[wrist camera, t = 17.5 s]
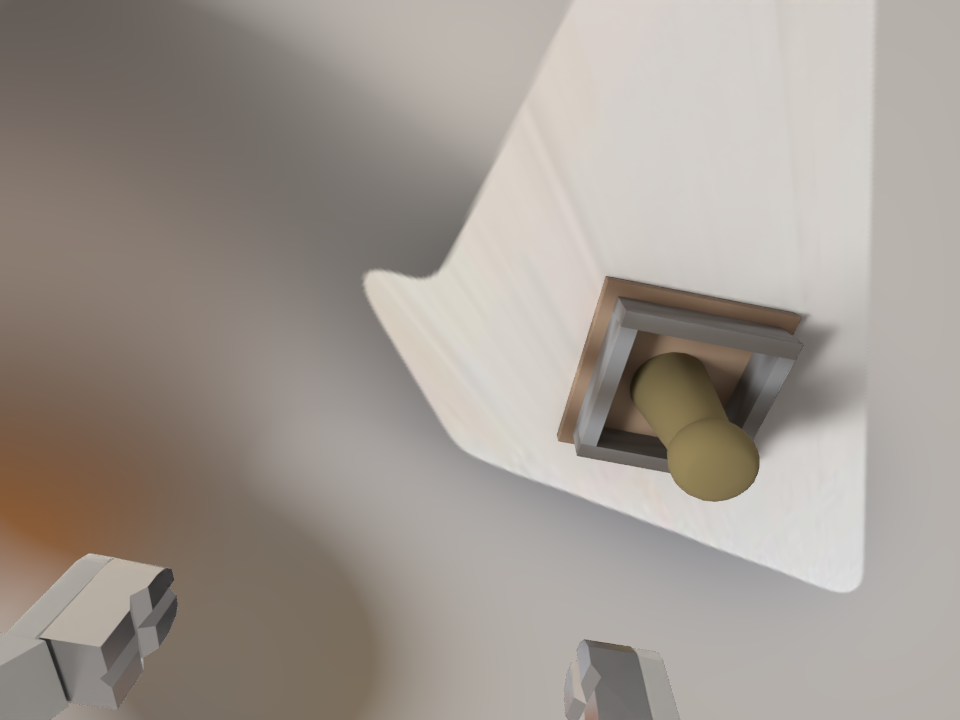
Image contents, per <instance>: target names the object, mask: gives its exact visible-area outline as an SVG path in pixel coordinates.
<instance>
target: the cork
mask: <svg viewBox="0 0 960 720" xmlns="http://www.w3.org/2000/svg"><path fill="white" fill-rule="evenodd" d="M630 392H631V398H632V400H633V402H634V404H635V406H636V407H637V409H638V410H639V411H640V413H641V414H642V416H643V417H644V418H645V420H646V421H647V422H648V424H649V425H650V427H651V428H652V429H653V431H654V432H655V433H656V435H657V436H658V437H659V439H660V440H661V442H662V443H663V444H664V446H665V447H666V448H667V460H668V469H669V471H670V473H671V475H672V477H673V479H674V481H675V483H676V484H677V485H678V486H679V487H680V488H681V489H682V490H684V491H685V492H686V493H687V494H689V495H691V496H693V497H696V498H698V499H701V500H704V501H714V502H715V501H723V500H728V499H731V498H733V497H736V496H738V495H740V494H741V493H743V492H744V491H746V490H747V489H748V488H749V487H750V486H751V485H752V484H753V482H754V481H755V478H756V476H757V474H758V471H759V454H758V451H757V448H756V446H755V444H754V442H753V440H752V439H751V438H750V436H749V435H748V434H747V433H745V432H744V431H743V430H742V429H741V428H740V427H738V426H737V425H735V424H733V423H731V422H729V420H728V418H727V416H726V413H725V411H724V409H723V407H722V404H721V402H720V400H719V398H718V395H717V393H716V391H715V388H714V386H713V384H712V382H711V379H710V377H709V375H708V373H707V371H706V368H705V366H704V365H703V364H702V363H701V362H700V361H699V360H698V359H697V358H696V357H693V356H691V355H689V354H686V353H679V352H669V353H664V354H659V355H657V356H655V357H653V358H651V359H649V360H647V361H646V362H645V363H644V364H643V365H641V366H640V367H639V368H638V370H637V371H636V373H635V374H634V376H633V378H632V382H631V386H630Z"/></svg>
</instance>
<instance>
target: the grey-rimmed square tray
mask: <svg viewBox="0 0 960 720" xmlns="http://www.w3.org/2000/svg"><path fill="white" fill-rule="evenodd" d="M800 320H801V317H799V316H798V315H797V314H795V313H792V312H787V311H782V310H776V309H771V308H766V307H761V306H756V305H751V304H746V303H741V302H735V301H730V300H725V299H720V298H715V297H710V296H705V295H699V294H694V293H689V292H684V291H679V290H674V289H669V288H664V287H658V286H653V285H648V284H643V283H638V282H633V281H628V280H622V279H617V278H612V277H607V276H606V278H605V281H604V284H603V287H602V291H601V294H600V297H599V300H598V303H597V307H596V310H595V313H594V316H593V320H592V323H591V326H590V329H589V333H588V336H587V339H586V342H585V346H584V349H583V352H582V355H581V359H580V362H579V365H578V368H577V372H576V375H575V378H574V381H573V385H572V388H571V391H570V394H569V397H568V401H567V404H566V407H565V410H564V414H563V417H562V420H561V423H560V427H559V430H558V433H557V437H558V441H560V442H566V443H571V444H575V448H576V453H577V456H580V457H586V458H591V459H597V460H602V461H608V462H613V463H619V464H624V465H630V466H635V467H640V468H646V469H651V470H657V471H662V472H668V473H670V471H669V469H668V460H667V448H666V447H665V446H664V444H663V443H662V442H661V440H660V439H659V437H658V436H657V435H656V433H655V432H654V431H653V429H652V428H651V427H650V425H649V424H648V422H647V421H646V420H645V418H644V417H643V416H642V414H641V413H640V411H639V410H638V409H637V407H636V406H635V404H634V402H633V400H632V398H631V392H630V386H631V382H632V378H633V376H634V374H635V373H636V371H637V370H638V368H639V367H640V366H641V365H643V364H644V363H645V362H646V361H647V360H649V359H651V358H653V357H655V356H657V355H659V354H664V353H669V352H679V353H686V354H689V355H691V356H693V357H696V358H697V359H698V360H699V361H700V362H701V363H702V364H703V365H704V366H705V368H706V371H707V373H708V375H709V377H710V379H711V382H712V384H713V386H714V388H715V391H716V393H717V395H718V398H719V400H720V402H721V404H722V407H723V409H724V411H725V413H726V416H727V418H728V420H729V422H731V423H733V424H735V425H737V426H738V427H740V428H741V429H742V430H743V431H744V432H745V433H747V434H748V435H749V436H750V438H751V439H752V440H753V439H754V437H755V435H756V433H757V432H758V430H759V428H760V426H761V424H762V422H763V420H764V418H765V417H766V415H767V413H768V411H769V409H770V407H771V405H772V403H773V402H774V400H775V398H776V396H777V394H778V392H779V390H780V389H781V387H782V385H783V383H784V381H785V379H786V377H787V375H788V374H789V372H790V370H791V368H792V366H793V364H794V362H795V360H796V359H797V357H798V355H799V353H800V351H801V349H802V347H803V346H804V345H803V344H802V343H801V342H800V341H798V340H797V339H796V338H794V337H793V336H792V335H793V333H794V331H795V330H796V328H797V326H798V324H799V322H800Z"/></svg>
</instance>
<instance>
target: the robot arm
mask: <svg viewBox="0 0 960 720" xmlns="http://www.w3.org/2000/svg"><path fill="white" fill-rule="evenodd" d="M173 581H174V577H173V572H172V569H171V568H166V567H160V566H155V565H149V564H144V563H139V562H133V561H128V560H123V559H118V558H113V557H108V556H102V555H96V554H90V553H89V554H87V555H86V556H84V557H83V558H81V559H79V560H77V561H76V562H75V563H74V564H73V565H72V566H71V567H70V568H69V569H68V570H67V571H66V573H65V574H64V575H63V576H62V577H61V578H60V579H59V580H58V581H57V582H56V583H55V584H54V585H53V586H52V587H51V588H50V589H49V590H48V591H47V592H46V593H45V594H44V595H43V596H42V597H41V598H40V599H39V600H38V601H37V602H36V603H35V604H34V605H33V606H32V607H31V608H30V609H29V610H28V611H27V612H26V613H25V614H24V615H23V616H22V617H21V618H20V619H19V620H18V621H17V622H16V623H15V624H14V625H13V626H12V628H10V629H9V630H8V631H7V632H6V633H1V632H0V720H51V719H52V718H53V717H55V716H56V715H58V714H59V713H60V712H62V711H63V710H64V709H66V708H67V707H68V703H73V704H79V705H87V706H94V707H102V708H110V709H118V708H119V707H120V705H121V704H122V702H123V701H124V699H125V698H126V697H127V695H128V694H129V692H130V690H131V689H132V687H133V686H134V685H135V683H136V682H137V680H138V678H139V677H140V675H141V674H142V673H143V658H144V657H145V656H147V655H148V654H150V653H151V652H153V651H154V650H156V649H157V648H159V647H160V645H161V644H162V642H163V641H164V639H165V638H166V636H167V635H168V633H169V631H170V629H171V626H172V624H173V622H174V619H175V617H176V612H177V606H178V602H177V595H176V594H175V593H174V592H173V591H171V589H170V588H169V587H170V585H171V584H172V583H173ZM577 656H578V660H576V661H574V662H572V663H571V664H570V667H569V669H568V672H567V675H566V682H565V697H564V700H565V701H564V702H565V714H566V717H567V719H568V720H680V718H679V714H678V711H677V707H676V704H675V700H674V697H673V693H672V690H671V686H670V683H669V679H668V676H667V672H666V669H665V665H664V662H663V659H662V657H661V656H660V654H659V653H657V652H655V651H649V650H643V649H636V648H631V647H629V646H623V645H616V644H610V643H603V642H597V641H591V640H583V641H581V642H580V644H579V646H578V648H577Z"/></svg>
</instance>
